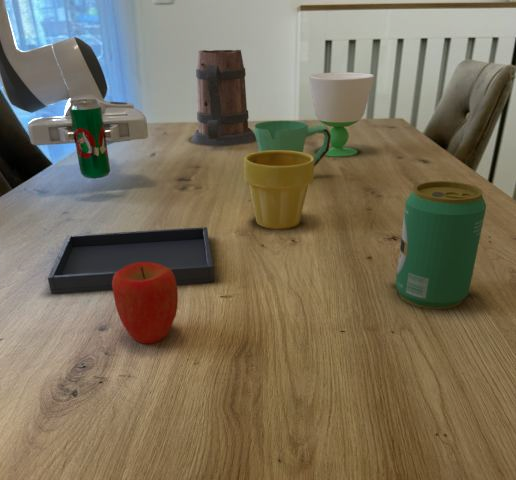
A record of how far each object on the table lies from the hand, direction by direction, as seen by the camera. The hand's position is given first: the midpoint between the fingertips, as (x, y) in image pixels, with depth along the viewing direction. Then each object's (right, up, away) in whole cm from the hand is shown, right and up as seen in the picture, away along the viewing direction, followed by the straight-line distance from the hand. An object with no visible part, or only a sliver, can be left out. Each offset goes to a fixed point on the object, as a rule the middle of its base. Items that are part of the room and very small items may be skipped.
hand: (90, 137), depth 92 cm
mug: (+35, -3, +15) cm, 38 cm away
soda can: (0, -5, +4) cm, 7 cm away
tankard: (+19, +16, +46) cm, 53 cm away
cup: (+46, +9, +34) cm, 58 cm away
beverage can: (+48, -29, -29) cm, 63 cm away
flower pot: (+31, -16, -7) cm, 36 cm away
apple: (+17, -34, -36) cm, 52 cm away
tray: (+12, -24, -20) cm, 34 cm away
